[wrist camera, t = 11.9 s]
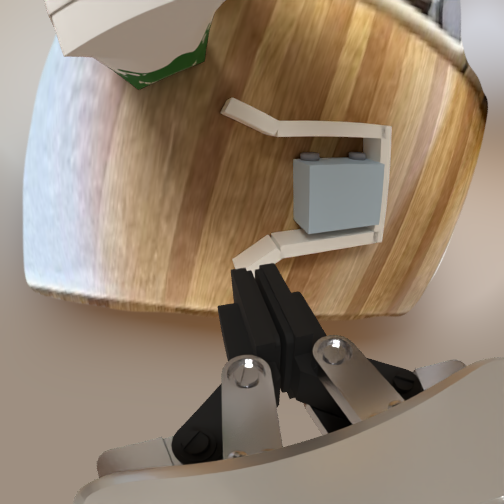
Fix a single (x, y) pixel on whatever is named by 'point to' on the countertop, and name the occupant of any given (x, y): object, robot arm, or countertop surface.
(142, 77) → the milk carton
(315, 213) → the grey boxy piece
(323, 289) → the countertop surface
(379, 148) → the bay
